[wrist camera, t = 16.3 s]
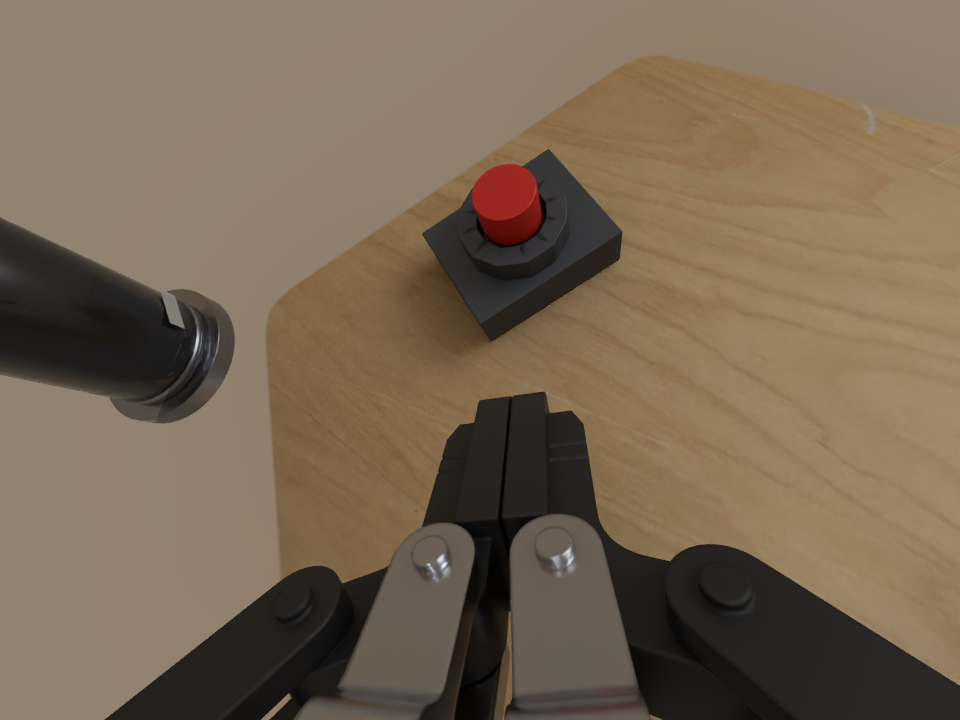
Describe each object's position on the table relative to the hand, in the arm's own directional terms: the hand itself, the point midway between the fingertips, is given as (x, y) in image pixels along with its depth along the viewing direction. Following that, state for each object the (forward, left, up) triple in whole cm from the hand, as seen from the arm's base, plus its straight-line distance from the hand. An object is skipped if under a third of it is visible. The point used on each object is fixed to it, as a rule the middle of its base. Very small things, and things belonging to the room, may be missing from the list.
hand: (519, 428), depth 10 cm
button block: (-6, +13, -17) cm, 22 cm away
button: (-6, +13, -12) cm, 19 cm away
